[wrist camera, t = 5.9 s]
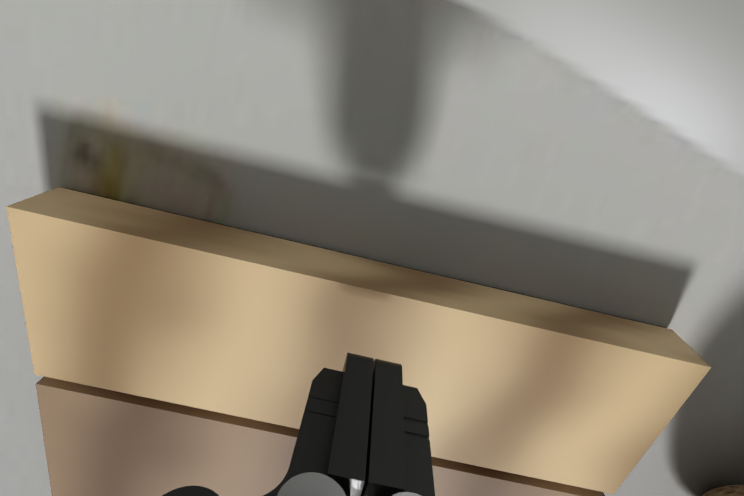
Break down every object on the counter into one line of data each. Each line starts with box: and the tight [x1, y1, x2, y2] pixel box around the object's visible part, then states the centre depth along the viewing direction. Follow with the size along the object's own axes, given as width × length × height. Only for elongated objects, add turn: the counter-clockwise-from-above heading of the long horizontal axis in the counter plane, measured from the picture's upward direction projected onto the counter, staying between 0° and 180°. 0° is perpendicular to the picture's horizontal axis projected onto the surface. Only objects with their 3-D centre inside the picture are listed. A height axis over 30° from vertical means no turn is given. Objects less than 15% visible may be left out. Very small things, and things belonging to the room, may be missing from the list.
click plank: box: [6, 187, 711, 494], centre depth 14 cm, size 22×6×2 cm, turn 77°
